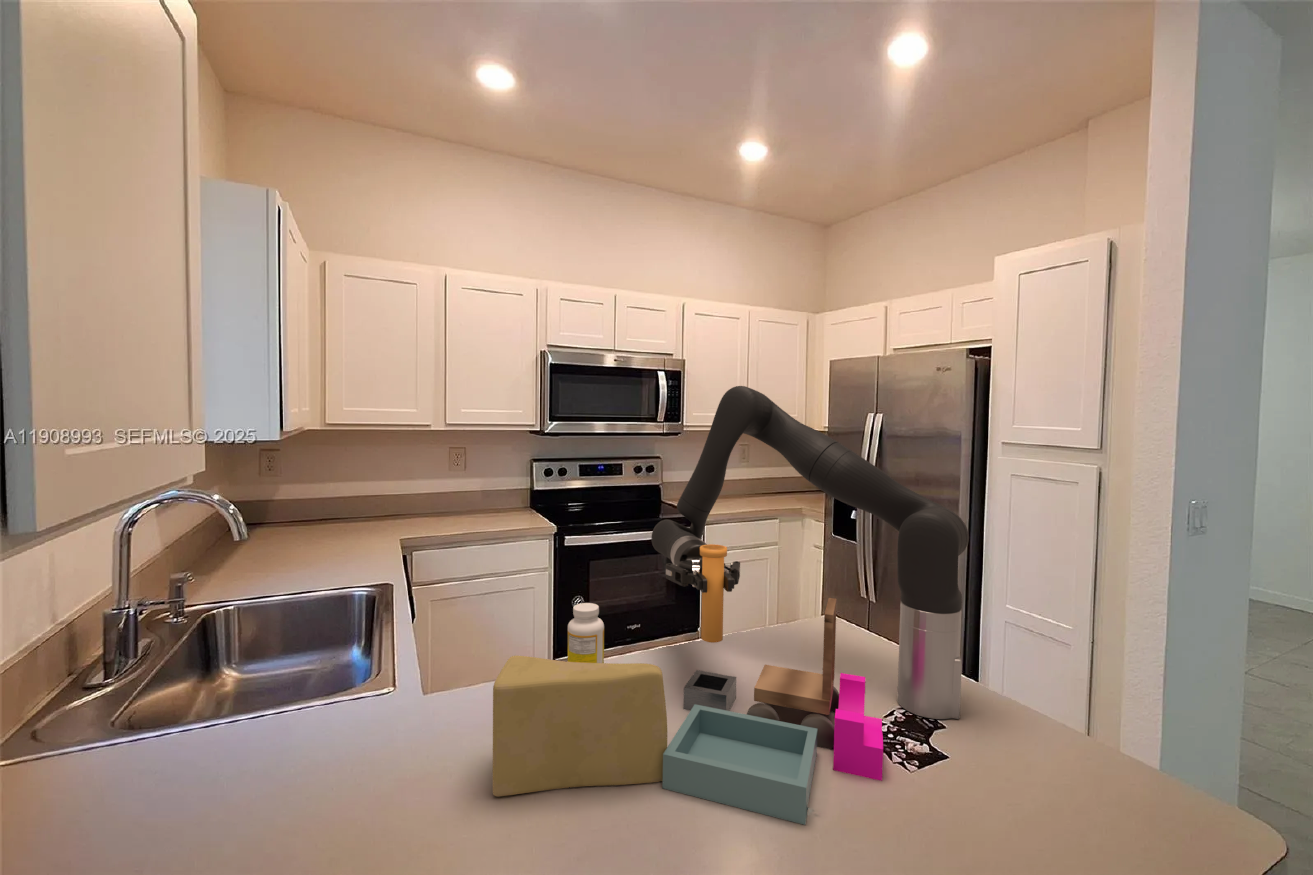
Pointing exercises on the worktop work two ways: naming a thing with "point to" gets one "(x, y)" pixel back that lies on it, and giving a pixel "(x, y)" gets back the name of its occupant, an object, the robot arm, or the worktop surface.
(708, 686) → the pin socket
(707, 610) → the pin
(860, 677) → the toy block
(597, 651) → the supplement bottle
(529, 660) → the cheese
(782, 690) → the trolley
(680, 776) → the tray
